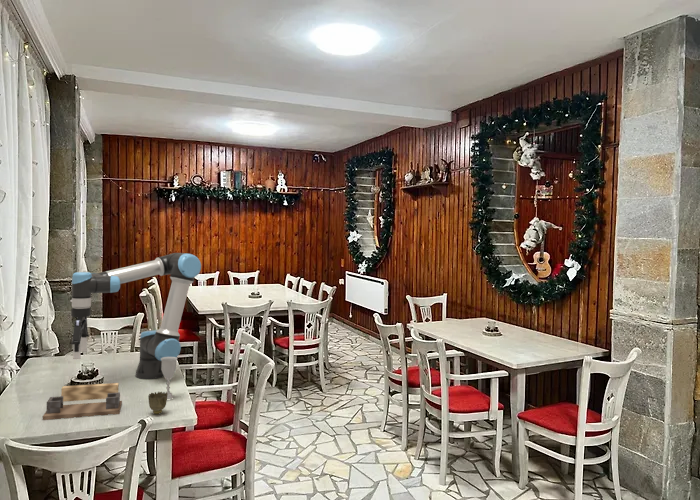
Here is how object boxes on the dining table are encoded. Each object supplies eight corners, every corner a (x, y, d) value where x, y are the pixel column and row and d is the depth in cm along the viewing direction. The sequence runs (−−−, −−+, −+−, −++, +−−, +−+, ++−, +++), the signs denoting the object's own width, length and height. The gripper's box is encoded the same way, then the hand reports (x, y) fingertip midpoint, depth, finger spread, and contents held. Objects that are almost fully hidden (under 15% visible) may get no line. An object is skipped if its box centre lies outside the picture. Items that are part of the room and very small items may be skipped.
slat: (118, 396, 224) (118, 382, 224) (117, 398, 221) (117, 384, 221) (62, 399, 216) (62, 386, 216) (61, 402, 213) (61, 388, 213)
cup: (151, 410, 207) (151, 391, 207) (169, 410, 208) (169, 391, 208) (145, 416, 200) (145, 396, 200) (164, 416, 200) (164, 397, 200)
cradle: (121, 404, 213) (122, 390, 213) (119, 414, 202) (119, 399, 201) (49, 409, 204) (49, 395, 203) (42, 420, 192) (42, 404, 192)
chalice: (179, 397, 224) (180, 357, 224) (169, 402, 218) (170, 361, 217) (166, 395, 226) (167, 356, 226) (155, 399, 220) (156, 359, 220)
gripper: (77, 303, 230) (76, 349, 230) (64, 311, 206) (63, 362, 207) (95, 303, 232) (94, 348, 233) (85, 311, 208) (83, 361, 209)
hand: (80, 355), depth 220 cm, fingers open, 13 cm apart
